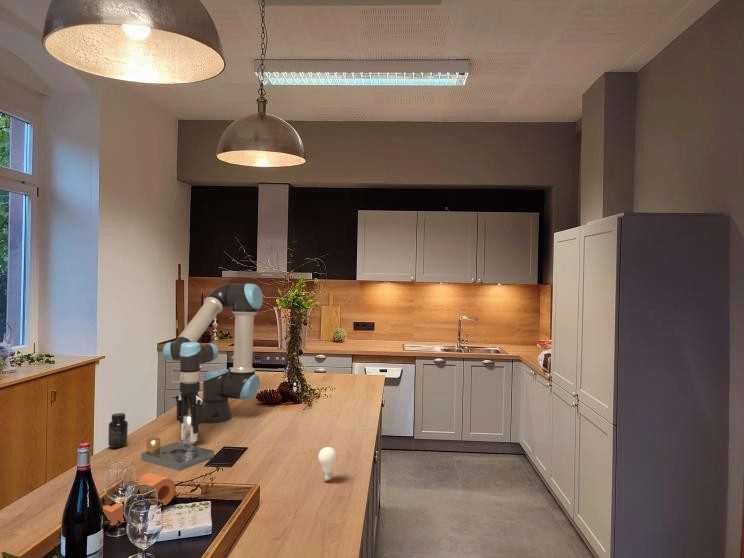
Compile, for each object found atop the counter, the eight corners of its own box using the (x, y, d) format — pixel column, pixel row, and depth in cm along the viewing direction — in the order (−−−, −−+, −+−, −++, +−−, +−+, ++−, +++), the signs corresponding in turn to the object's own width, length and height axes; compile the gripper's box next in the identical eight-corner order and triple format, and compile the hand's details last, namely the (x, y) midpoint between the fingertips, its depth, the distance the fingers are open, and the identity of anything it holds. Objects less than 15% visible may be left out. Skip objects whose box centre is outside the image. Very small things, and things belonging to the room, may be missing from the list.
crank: (158, 495, 163) (159, 469, 163) (174, 501, 158) (175, 475, 158) (94, 519, 146) (95, 490, 146) (111, 527, 142) (111, 497, 142)
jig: (140, 459, 193) (141, 440, 193) (176, 448, 207) (176, 430, 207) (179, 470, 183) (180, 450, 183) (214, 457, 197) (214, 438, 197)
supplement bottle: (113, 441, 213) (114, 412, 213) (130, 442, 212) (131, 412, 212) (104, 447, 206) (105, 416, 206) (121, 447, 206) (122, 417, 206)
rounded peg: (180, 443, 209) (180, 416, 208) (189, 440, 213) (189, 413, 212) (188, 445, 206) (189, 417, 206) (197, 442, 210) (198, 415, 210)
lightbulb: (317, 476, 180) (318, 444, 180) (336, 476, 181) (337, 444, 181) (317, 483, 174) (318, 450, 174) (336, 483, 174) (337, 450, 174)
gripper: (166, 380, 210) (166, 439, 210) (198, 386, 202) (197, 446, 202) (181, 377, 217) (181, 434, 217) (213, 382, 208) (212, 441, 208)
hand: (189, 440), depth 209 cm, fingers closed on rounded peg, 4 cm apart
